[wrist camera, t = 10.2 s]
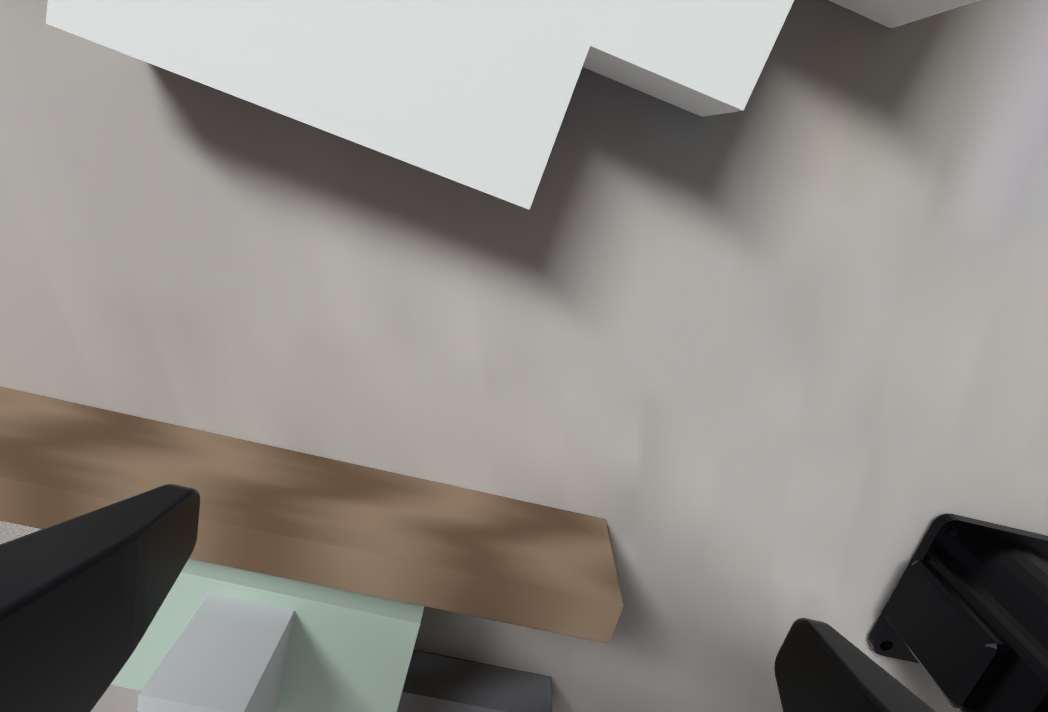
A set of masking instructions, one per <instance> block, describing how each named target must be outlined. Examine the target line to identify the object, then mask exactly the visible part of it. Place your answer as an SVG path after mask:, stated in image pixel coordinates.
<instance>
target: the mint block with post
mask: <svg viewBox="0 0 1048 712" xmlns="http://www.w3.org/2000/svg"><path fill="white" fill-rule="evenodd" d="M423 610H424V606H421V605H416V604H411V603H406V602H401V601H396V600H391V599H386V598H381V597H376V596H371V595H366V594H361V593H356V592H351V591H346V590H341V589H336V588H332V587H327V586H322V585H317V584H312V583H307V582H302V581H297V580H292V579H287V578H282V577H277V576H272V575H267V574H262V573H257V572H252V571H247V570H243V569H238V568H233V567H228V566H223V565H218V564H213V563H208V562H203V561H198V560H193V559H188V561H187V563H186V565H185V566H184V568H183V570H182V571H181V573H180V575H179V576H178V578H177V580H176V582H175V583H174V585H173V587H172V588H171V590H170V592H169V593H168V595H167V597H166V598H165V600H164V602H163V604H162V605H161V607H160V609H159V610H158V612H157V614H156V615H155V617H154V619H153V621H152V622H151V624H150V626H149V627H148V629H147V631H146V632H145V634H144V636H143V637H142V639H141V641H140V642H139V644H138V646H137V647H136V649H135V650H134V652H133V654H132V655H131V656H130V658H129V659H128V661H127V662H126V664H125V665H124V666H123V668H122V669H121V671H120V672H119V673H118V675H117V676H116V678H115V679H114V680H113V682H112V683H111V684H110V685H115V686H120V687H125V688H130V689H135V690H140V693H139V694H138V706H137V712H397V709H398V705H399V701H400V697H401V694H402V690H403V686H404V683H405V679H406V675H407V672H408V668H409V664H410V660H411V657H412V653H413V649H414V646H415V642H416V638H417V634H418V631H419V627H420V623H421V619H422V614H423Z"/></svg>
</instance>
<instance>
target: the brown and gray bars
mask: <svg viewBox="0 0 1048 712" xmlns="http://www.w3.org/2000/svg"><path fill="white" fill-rule="evenodd" d="M166 484H176V485H181V486H185V487H190V488H195V489H196V490H197V491H198V492H199V493H200V511H199V523H198V535H197V541H196V545H195V547H194V550H193V552H192V554H191V556H190V558H189V559H193V560H198V561H203V562H208V563H213V564H218V565H223V566H228V567H233V568H238V569H243V570H247V571H252V572H257V573H262V574H267V575H272V576H277V577H282V578H287V579H292V580H297V581H302V582H307V583H312V584H317V585H322V586H327V587H332V588H336V589H341V590H346V591H351V592H356V593H361V594H366V595H371V596H376V597H381V598H386V599H391V600H396V601H401V602H406V603H411V604H416V605H421V606H425V607H430V608H435V609H440V610H445V611H450V612H455V613H460V614H465V615H470V616H475V617H480V618H485V619H490V620H495V621H500V622H505V623H510V624H514V625H519V626H524V627H529V628H534V629H539V630H544V631H549V632H554V633H559V634H564V635H569V636H574V637H579V638H584V639H589V640H594V641H599V642H603V643H608V644H610V641H611V639H612V636H613V633H614V631H615V628H616V626H617V623H618V620H619V618H620V615H621V612H622V610H623V607H624V605H623V600H622V595H621V591H620V586H619V581H618V576H617V572H616V567H615V562H614V557H613V552H612V548H611V543H610V538H609V533H608V529H607V524H606V519H601V518H597V517H592V516H588V515H583V514H579V513H574V512H569V511H565V510H560V509H556V508H551V507H547V506H542V505H537V504H533V503H528V502H524V501H519V500H515V499H510V498H505V497H501V496H496V495H492V494H487V493H483V492H478V491H473V490H469V489H464V488H460V487H455V486H451V485H446V484H441V483H437V482H432V481H428V480H423V479H419V478H414V477H409V476H405V475H400V474H396V473H391V472H387V471H382V470H377V469H373V468H368V467H364V466H359V465H355V464H350V463H345V462H341V461H336V460H332V459H327V458H323V457H318V456H313V455H309V454H304V453H300V452H295V451H291V450H286V449H281V448H277V447H272V446H268V445H263V444H259V443H254V442H249V441H245V440H240V439H236V438H231V437H227V436H222V435H217V434H213V433H208V432H204V431H199V430H195V429H190V428H185V427H181V426H176V425H172V424H167V423H163V422H158V421H153V420H149V419H144V418H140V417H135V416H131V415H126V414H121V413H117V412H112V411H108V410H103V409H99V408H94V407H89V406H85V405H80V404H76V403H71V402H67V401H62V400H57V399H53V398H48V397H44V396H39V395H35V394H30V393H25V392H21V391H16V390H12V389H7V388H3V387H0V521H5V522H10V523H15V524H20V525H25V526H30V527H35V528H40V529H45V528H47V527H50V526H53V525H56V524H58V523H61V522H64V521H67V520H69V519H72V518H75V517H78V516H80V515H83V514H86V513H89V512H91V511H94V510H97V509H99V508H102V507H105V506H108V505H110V504H113V503H116V502H119V501H121V500H124V499H127V498H130V497H132V496H135V495H138V494H141V493H143V492H146V491H149V490H151V489H154V488H157V487H160V486H162V485H166ZM397 712H552V695H551V677H547V676H542V675H537V674H532V673H527V672H522V671H517V670H512V669H507V668H501V667H496V666H491V665H486V664H481V663H476V662H471V661H466V660H461V659H456V658H450V657H445V656H440V655H435V654H430V653H425V652H420V651H415V650H413V653H412V657H411V660H410V664H409V668H408V672H407V675H406V679H405V683H404V686H403V690H402V694H401V697H400V701H399V705H398V709H397Z"/></svg>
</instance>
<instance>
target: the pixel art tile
mask: <svg viewBox="0 0 1048 712" xmlns="http://www.w3.org/2000/svg"><path fill="white" fill-rule="evenodd" d="M829 1H831V2H833V3H836V4H838V5H840V6H842V7H844V8H847V9H849V10H851V11H853V12H855V13H858V14H860V15H862V16H864V17H866V18H869V19H871V20H873V21H875V22H877V23H880V24H882V25H884V26H886V27H888V28H891V29H892V28H895V27H898V26H901V25H904V24H908V23H911V22H914V21H917V20H920V19H923V18H927V17H930V16H933V15H936V14H939V13H942V12H946V11H949V10H952V9H955V8H958V7H961V6H965V5H968V4H971V3H974V2H977V1H980V0H829ZM793 2H794V0H48V6H47V16H46V24H49V25H51V26H54V27H56V28H59V29H62V30H64V31H67V32H69V33H72V34H75V35H77V36H80V37H82V38H85V39H88V40H90V41H93V42H95V43H98V44H101V45H103V46H106V47H108V48H111V49H114V50H116V51H119V52H121V53H124V54H127V55H129V56H132V57H134V58H137V59H139V60H142V61H145V62H147V63H150V64H152V65H155V66H158V67H160V68H163V69H165V70H168V71H171V72H173V73H176V74H178V75H181V76H184V77H186V78H189V79H191V80H194V81H197V82H199V83H202V84H204V85H207V86H210V87H212V88H215V89H217V90H220V91H223V92H225V93H228V94H230V95H233V96H235V97H238V98H241V99H243V100H246V101H248V102H251V103H254V104H256V105H259V106H261V107H264V108H267V109H269V110H272V111H274V112H277V113H280V114H282V115H285V116H287V117H290V118H293V119H295V120H298V121H300V122H303V123H306V124H308V125H311V126H313V127H316V128H318V129H321V130H324V131H326V132H329V133H331V134H334V135H337V136H339V137H342V138H344V139H347V140H350V141H352V142H355V143H357V144H360V145H363V146H365V147H368V148H370V149H373V150H376V151H378V152H381V153H383V154H386V155H389V156H391V157H394V158H396V159H399V160H402V161H404V162H407V163H409V164H412V165H414V166H417V167H420V168H422V169H425V170H427V171H430V172H433V173H435V174H438V175H440V176H443V177H446V178H448V179H451V180H453V181H456V182H459V183H461V184H464V185H466V186H469V187H472V188H474V189H477V190H479V191H482V192H485V193H487V194H490V195H492V196H495V197H497V198H500V199H503V200H505V201H508V202H510V203H513V204H516V205H518V206H521V207H523V208H526V209H529V210H530V207H531V204H532V202H533V199H534V196H535V194H536V191H537V188H538V186H539V183H540V180H541V177H542V175H543V172H544V169H545V167H546V164H547V161H548V158H549V156H550V153H551V150H552V148H553V145H554V142H555V140H556V137H557V134H558V131H559V129H560V126H561V123H562V121H563V118H564V115H565V113H566V110H567V107H568V104H569V102H570V99H571V96H572V94H573V91H574V88H575V85H576V83H577V80H578V77H579V75H580V72H581V69H582V67H584V68H586V69H589V70H591V71H593V72H596V73H598V74H600V75H603V76H605V77H608V78H610V79H612V80H615V81H617V82H620V83H622V84H624V85H627V86H629V87H632V88H634V89H636V90H639V91H641V92H643V93H646V94H648V95H651V96H653V97H655V98H658V99H660V100H663V101H665V102H667V103H670V104H672V105H675V106H677V107H679V108H682V109H684V110H686V111H689V112H691V113H694V114H696V115H698V116H701V117H705V116H712V115H718V114H725V113H731V112H738V111H743V110H744V108H745V106H746V104H747V102H748V100H749V97H750V95H751V93H752V91H753V89H754V87H755V84H756V82H757V80H758V78H759V76H760V74H761V71H762V69H763V67H764V65H765V63H766V61H767V58H768V56H769V54H770V52H771V50H772V48H773V45H774V43H775V41H776V39H777V37H778V35H779V32H780V30H781V28H782V26H783V24H784V22H785V19H786V17H787V15H788V13H789V11H790V9H791V6H792V4H793Z"/></svg>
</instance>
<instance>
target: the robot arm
mask: <svg viewBox="0 0 1048 712" xmlns="http://www.w3.org/2000/svg"><path fill="white" fill-rule="evenodd" d="M199 511H200V493H199V492H198V491H197V490H196V489H195V488H190V487H185V486H181V485H176V484H166V485H162V486H160V487H157V488H154V489H151V490H149V491H146V492H143V493H141V494H138V495H135V496H132V497H130V498H127V499H124V500H121V501H119V502H116V503H113V504H110V505H108V506H105V507H102V508H99V509H97V510H94V511H91V512H89V513H86V514H83V515H80V516H78V517H75V518H72V519H69V520H67V521H64V522H61V523H58V524H56V525H53V526H50V527H47V528H45V529H42V530H39V531H36V532H34V533H31V534H28V535H26V536H23V537H20V538H17V539H15V540H12V541H9V542H6V543H4V544H1V545H0V712H90V711H91V710H92V709H93V707H94V706H95V705H96V703H97V702H98V701H99V699H100V698H101V697H102V695H103V694H104V692H105V691H106V690H107V688H108V687H109V686H110V684H111V683H112V682H113V680H114V679H115V678H116V676H117V675H118V673H119V672H120V671H121V669H122V668H123V666H124V665H125V664H126V662H127V661H128V659H129V658H130V656H131V655H132V654H133V652H134V650H135V649H136V647H137V646H138V644H139V642H140V641H141V639H142V637H143V636H144V634H145V632H146V631H147V629H148V627H149V626H150V624H151V622H152V621H153V619H154V617H155V615H156V614H157V612H158V610H159V609H160V607H161V605H162V604H163V602H164V600H165V598H166V597H167V595H168V593H169V592H170V590H171V588H172V587H173V585H174V583H175V582H176V580H177V578H178V576H179V575H180V573H181V571H182V570H183V568H184V566H185V565H186V563H187V561H188V559H189V558H190V556H191V554H192V552H193V550H194V547H195V545H196V541H197V535H198V523H199ZM951 526H952V527H951ZM948 527H951V528H950V529H949V530H947V529H948ZM868 641H869V644H870V645H871V646H872V648H873V649H874V651H875V652H876V653H877V654H880V655H883V656H888V657H892V658H897V659H902V660H907V661H912V662H916V663H920V664H921V666H922V667H923V668H924V670H925V671H926V672H927V674H928V675H929V676H930V678H931V679H932V680H933V682H934V683H935V684H936V686H937V687H938V688H939V689H940V691H941V692H942V693H943V695H944V696H945V697H946V699H947V700H948V701H949V703H950V704H951V705H952V706H953V707H955V708H959V710H960V711H961V712H1048V536H1045V535H1041V534H1037V533H1032V532H1028V531H1024V530H1019V529H1015V528H1011V527H1006V526H1002V525H998V524H993V523H989V522H985V521H980V520H976V519H972V518H967V517H963V516H958V515H954V514H944V515H941V516H939V517H937V518H936V519H935V520H934V522H933V523H932V525H931V527H930V528H929V530H928V532H927V534H926V536H925V537H924V539H923V541H922V543H921V544H920V546H919V548H918V550H917V552H916V553H915V555H914V557H913V559H912V560H911V562H910V564H909V566H908V568H907V569H906V571H905V573H904V575H903V576H902V578H901V580H900V582H899V584H898V585H897V587H896V589H895V591H894V592H893V594H892V596H891V598H890V600H889V601H888V603H887V605H886V607H885V608H884V610H883V612H882V614H881V616H880V617H879V619H878V621H877V623H876V624H875V626H874V628H873V630H872V631H871V633H870V635H869V638H868ZM775 677H776V681H777V685H778V690H779V694H780V698H781V703H782V707H783V712H935V711H934V710H933V709H932V708H930V707H929V706H928V705H927V704H926V703H924V702H923V701H922V700H921V699H919V698H918V697H917V696H916V695H915V694H913V693H912V692H911V691H910V690H908V689H907V688H906V687H905V686H903V685H902V684H901V683H900V682H899V681H897V680H896V679H895V678H894V677H892V676H891V675H890V674H889V673H887V672H886V671H885V670H884V669H883V668H881V667H880V666H879V665H878V664H876V663H875V662H874V661H873V660H871V659H870V658H869V657H868V656H867V655H865V654H864V653H863V652H862V651H860V650H859V649H858V648H857V647H855V646H854V645H853V644H852V643H851V642H849V641H848V640H847V639H846V638H844V637H843V636H842V635H841V634H840V633H838V632H837V631H836V630H835V629H833V628H832V627H831V626H830V625H828V624H826V623H824V622H821V621H816V620H811V619H806V618H799V619H797V620H796V621H795V622H794V623H793V625H792V626H791V628H790V630H789V632H788V634H787V636H786V638H785V640H784V642H783V644H782V646H781V648H780V650H779V652H778V654H777V657H776V660H775Z"/></svg>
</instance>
